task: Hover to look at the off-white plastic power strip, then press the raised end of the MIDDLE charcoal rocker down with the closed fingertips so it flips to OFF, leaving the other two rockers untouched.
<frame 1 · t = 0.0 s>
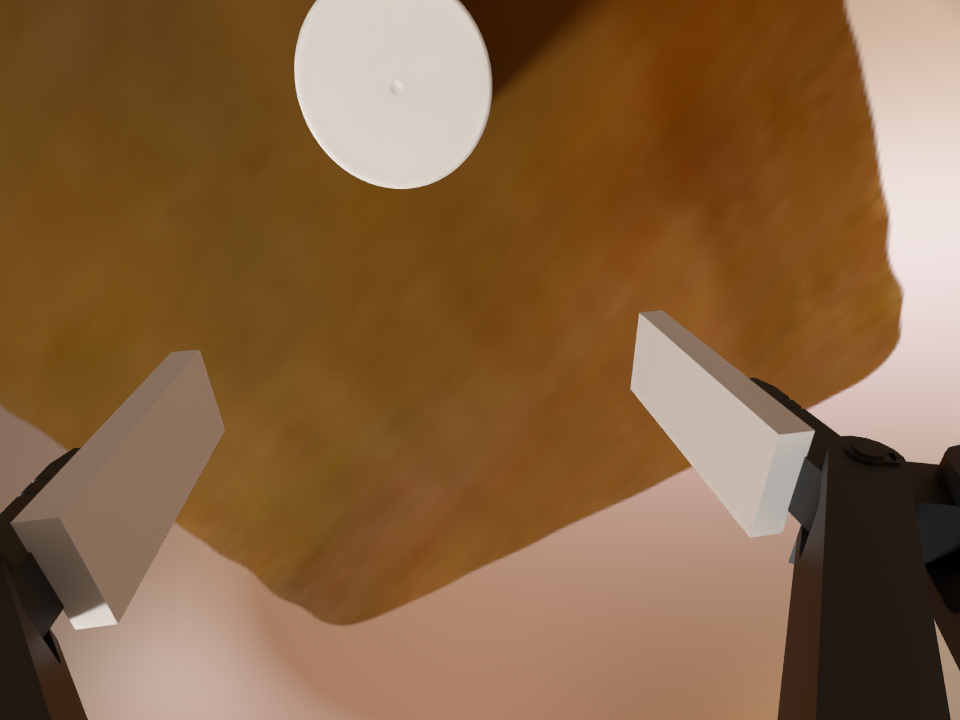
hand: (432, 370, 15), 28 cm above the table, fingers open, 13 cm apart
supplement tub: (399, 91, 37), on the table
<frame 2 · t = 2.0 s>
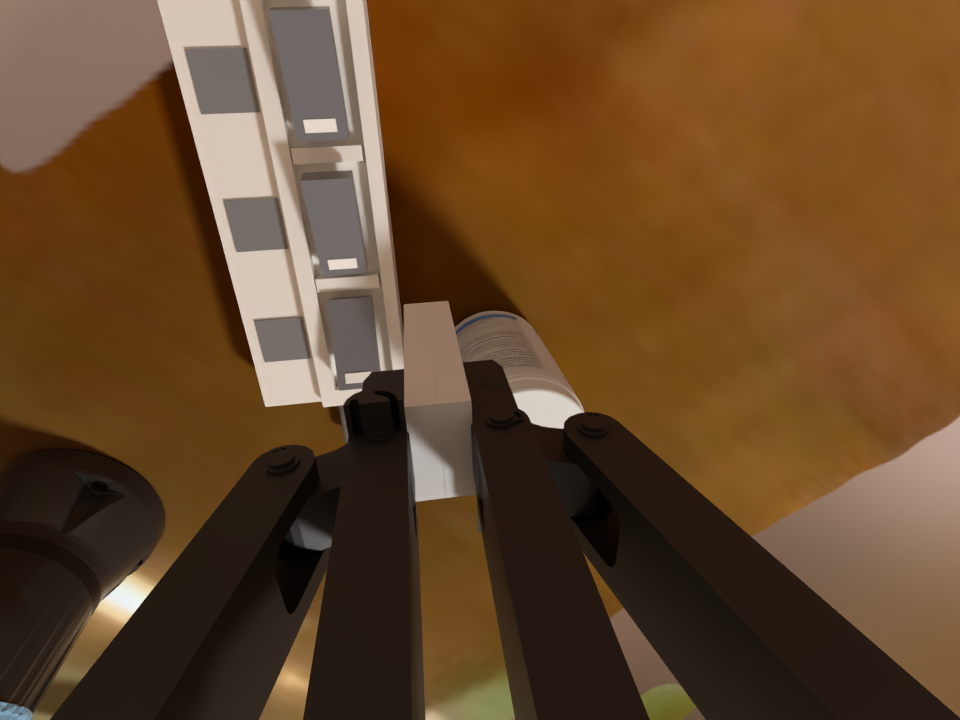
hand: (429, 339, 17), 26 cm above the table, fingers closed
supplement tub: (491, 353, 48), on the table
rocker 2: (336, 225, 35), point 6 cm above the table, hinge at 14.0°
rocker 1: (355, 343, 39), point 6 cm above the table, hinge at -14.0°
power strip: (313, 211, 40), on the table
rocker 3: (312, 77, 31), point 6 cm above the table, hinge at 14.0°
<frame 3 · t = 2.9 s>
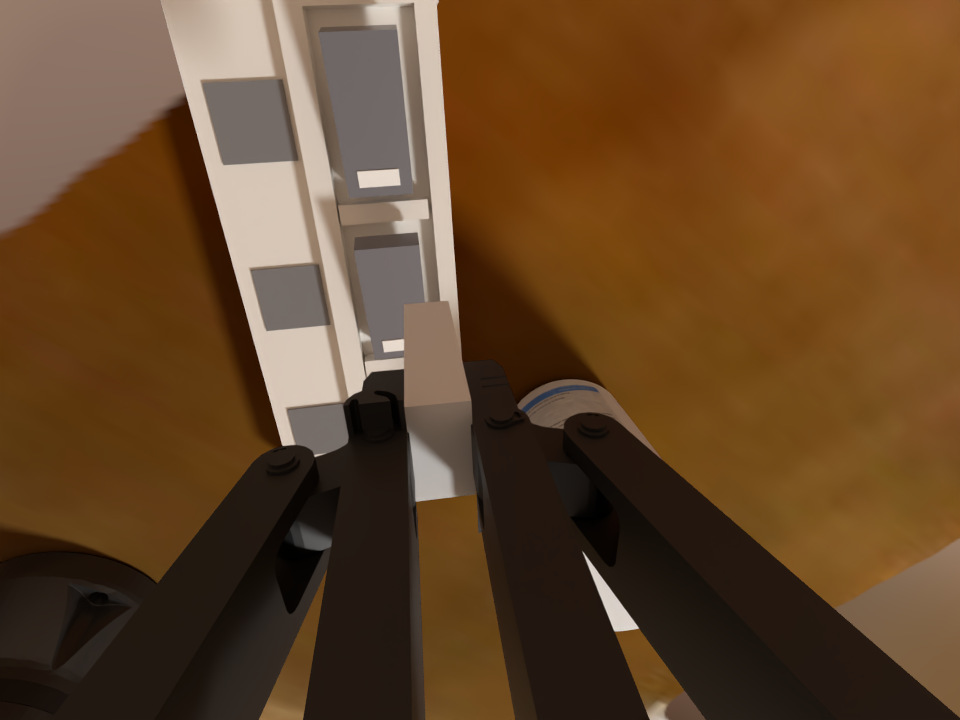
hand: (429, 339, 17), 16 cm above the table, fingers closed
supplement tub: (560, 425, 41), on the table
rocker 2: (395, 299, 28), point 6 cm above the table, hinge at 14.0°
power strip: (356, 272, 33), on the table
rocker 3: (371, 117, 24), point 6 cm above the table, hinge at 14.0°
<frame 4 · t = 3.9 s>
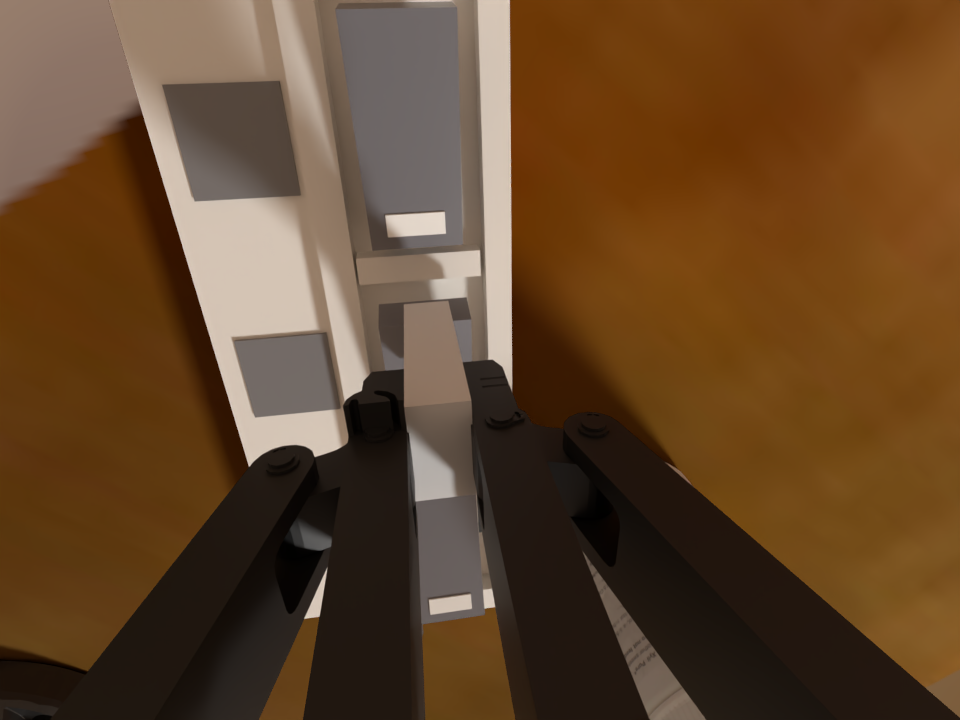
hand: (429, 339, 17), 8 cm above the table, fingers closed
supplement tub: (617, 506, 33), on the table
rocker 2: (430, 384, 20), point 6 cm above the table, hinge at 14.0°, touching gripper
rocker 1: (445, 547, 24), point 6 cm above the table, hinge at -14.0°
power strip: (374, 331, 25), on the table
rocker 3: (408, 138, 16), point 6 cm above the table, hinge at 14.0°
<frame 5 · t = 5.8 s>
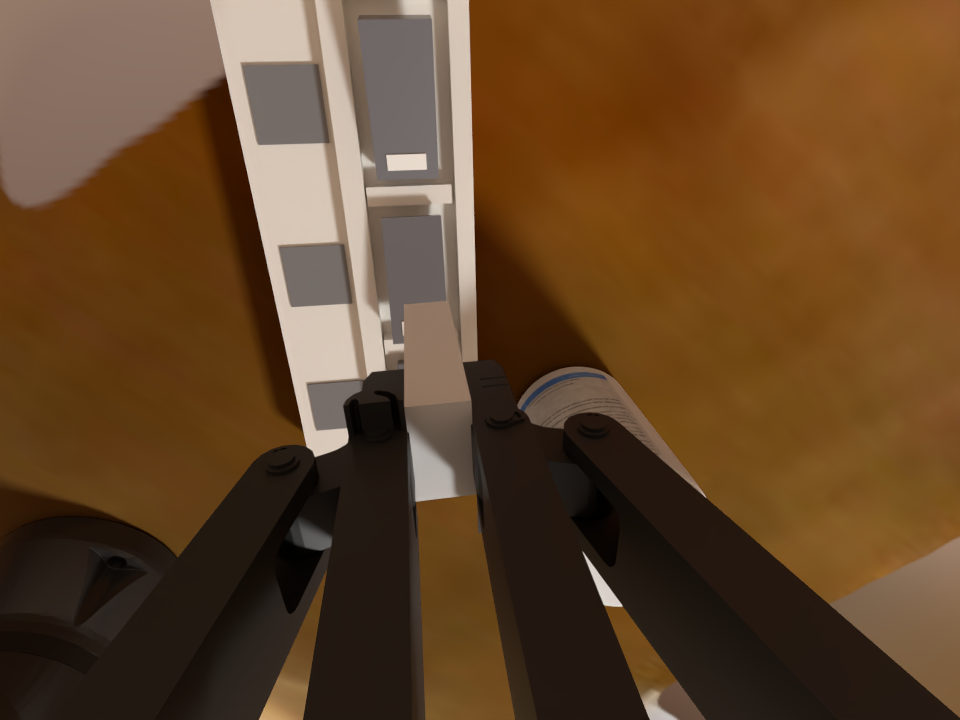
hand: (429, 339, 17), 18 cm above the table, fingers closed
supplement tub: (568, 411, 42), on the table
rocker 2: (416, 280, 29), point 6 cm above the table, hinge at -9.0°
rocker 1: (427, 413, 33), point 6 cm above the table, hinge at -14.0°
power strip: (377, 254, 34), on the table
rocker 3: (402, 103, 25), point 6 cm above the table, hinge at 14.0°
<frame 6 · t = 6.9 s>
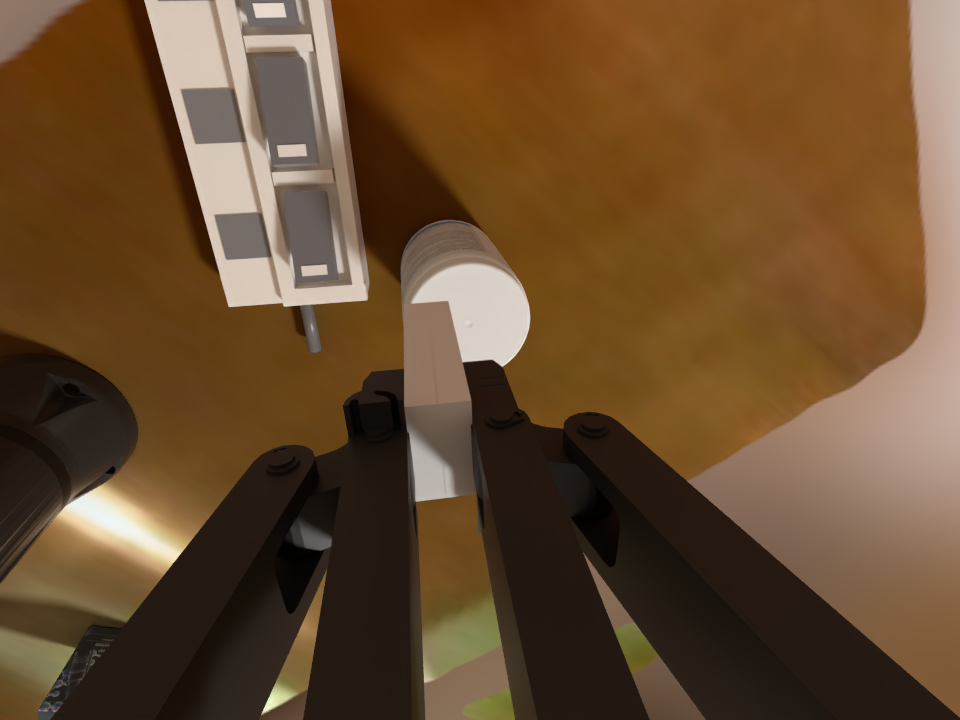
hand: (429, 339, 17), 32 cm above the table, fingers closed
supplement tub: (450, 266, 50), on the table
rocker 2: (288, 114, 37), point 6 cm above the table, hinge at -13.0°
rocker 1: (311, 237, 41), point 6 cm above the table, hinge at -14.0°
power strip: (272, 114, 42), on the table
box: (123, 639, 66), on the table
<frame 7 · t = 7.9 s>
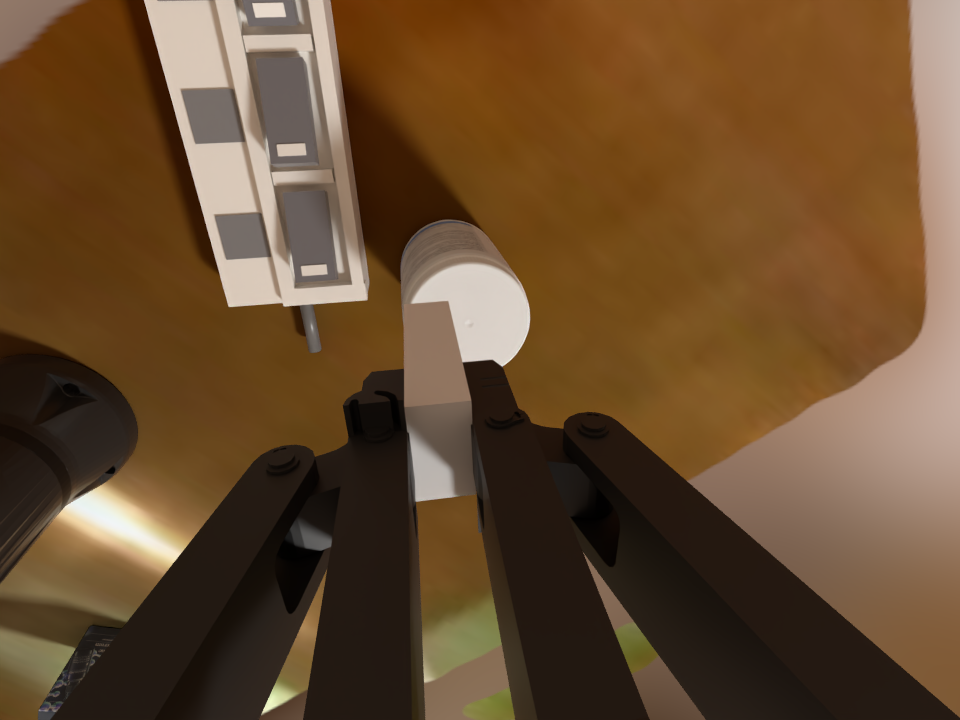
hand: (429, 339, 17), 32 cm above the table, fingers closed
supplement tub: (450, 266, 50), on the table
rocker 2: (288, 113, 37), point 6 cm above the table, hinge at -15.0°
rocker 1: (311, 237, 41), point 6 cm above the table, hinge at -14.0°
power strip: (272, 114, 42), on the table
box: (123, 639, 66), on the table
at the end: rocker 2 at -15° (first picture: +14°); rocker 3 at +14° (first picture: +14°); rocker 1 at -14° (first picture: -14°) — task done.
